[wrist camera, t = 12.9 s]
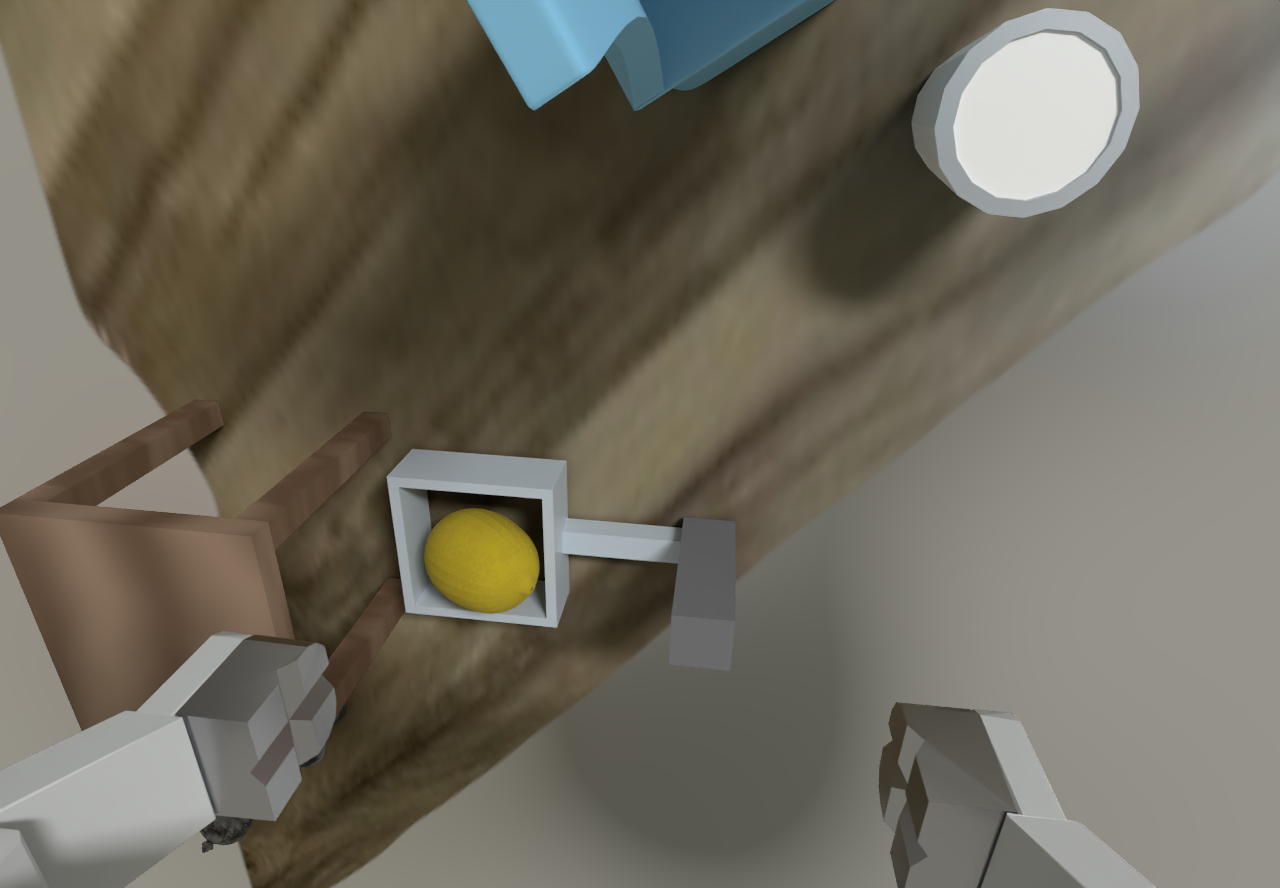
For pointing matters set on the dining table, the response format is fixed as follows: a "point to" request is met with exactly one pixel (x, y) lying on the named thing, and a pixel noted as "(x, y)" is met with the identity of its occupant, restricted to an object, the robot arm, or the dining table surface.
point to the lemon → (481, 560)
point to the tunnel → (173, 566)
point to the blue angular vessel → (630, 40)
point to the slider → (569, 549)
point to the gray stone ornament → (235, 828)
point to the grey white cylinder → (1029, 112)
